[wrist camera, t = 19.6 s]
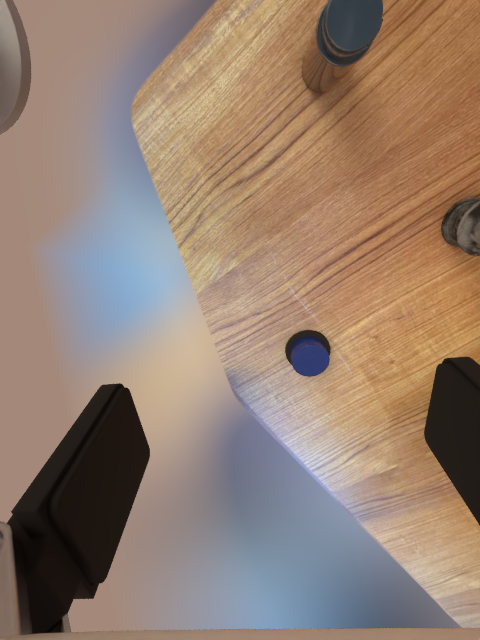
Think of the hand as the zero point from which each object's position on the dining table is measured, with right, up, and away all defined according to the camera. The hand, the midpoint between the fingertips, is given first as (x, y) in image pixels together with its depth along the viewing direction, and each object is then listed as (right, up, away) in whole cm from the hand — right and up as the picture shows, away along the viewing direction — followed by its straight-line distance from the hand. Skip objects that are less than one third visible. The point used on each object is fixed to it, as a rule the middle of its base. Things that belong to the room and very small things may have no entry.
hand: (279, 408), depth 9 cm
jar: (+7, +27, +19) cm, 34 cm away
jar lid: (+8, -2, +30) cm, 31 cm away
